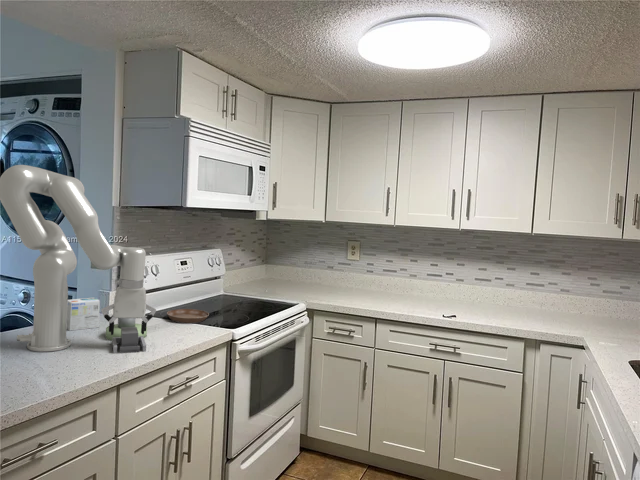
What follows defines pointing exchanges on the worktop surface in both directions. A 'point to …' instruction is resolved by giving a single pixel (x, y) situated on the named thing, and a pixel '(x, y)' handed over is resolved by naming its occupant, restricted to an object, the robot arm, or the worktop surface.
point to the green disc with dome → (117, 332)
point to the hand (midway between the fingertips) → (127, 333)
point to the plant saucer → (187, 315)
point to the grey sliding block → (129, 340)
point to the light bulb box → (83, 313)
